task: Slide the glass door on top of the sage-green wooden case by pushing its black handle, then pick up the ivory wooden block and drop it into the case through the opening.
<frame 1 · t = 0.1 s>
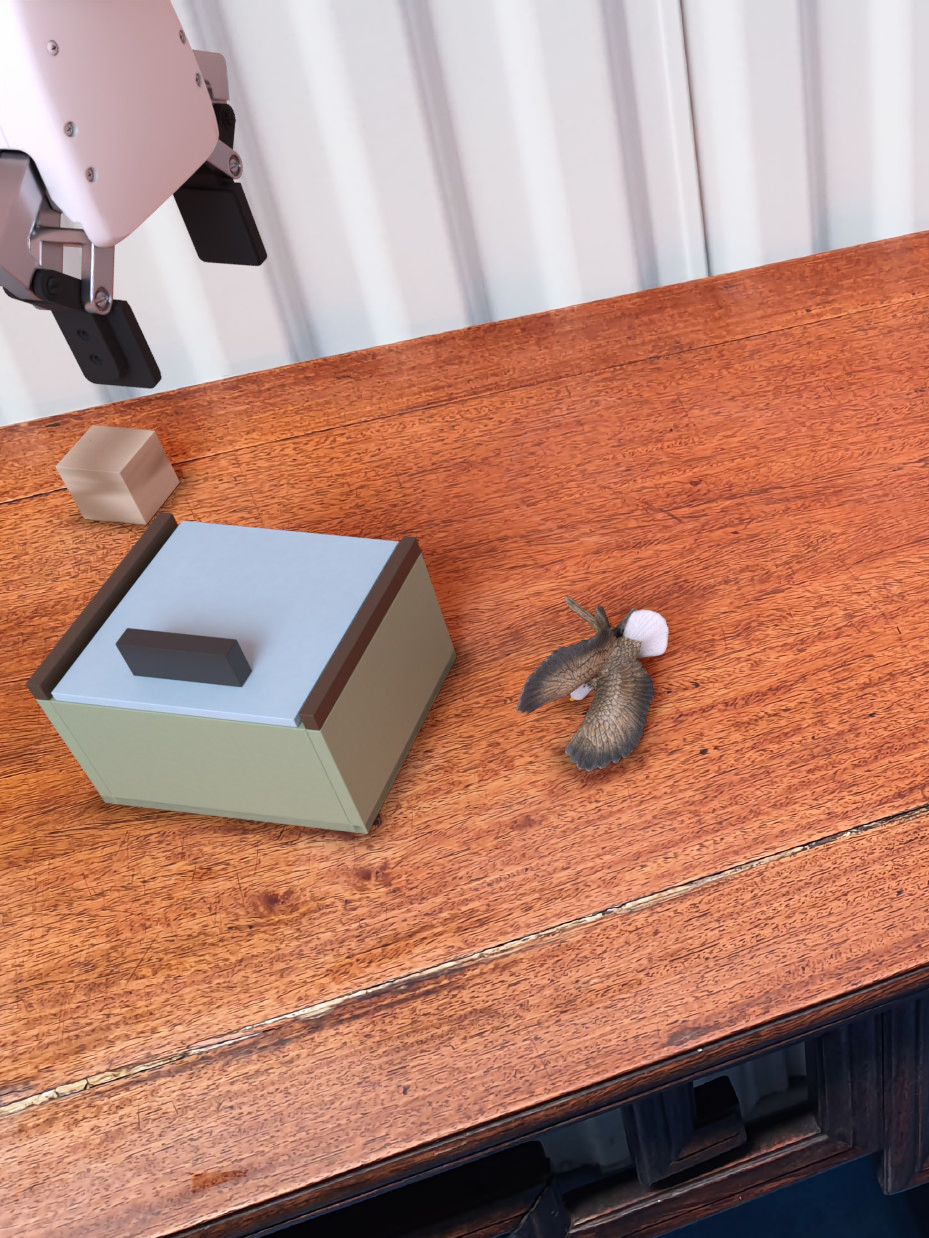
hand: (183, 318, 63), 28 cm above the table, tool pointing down, fingers open, 9 cm apart
case: (289, 726, 83), on the table
eagle figurine: (604, 709, 84), on the table
block: (132, 500, 97), on the table
glass door: (228, 601, 75), point 10 cm above the table, slide at 0.0 cm
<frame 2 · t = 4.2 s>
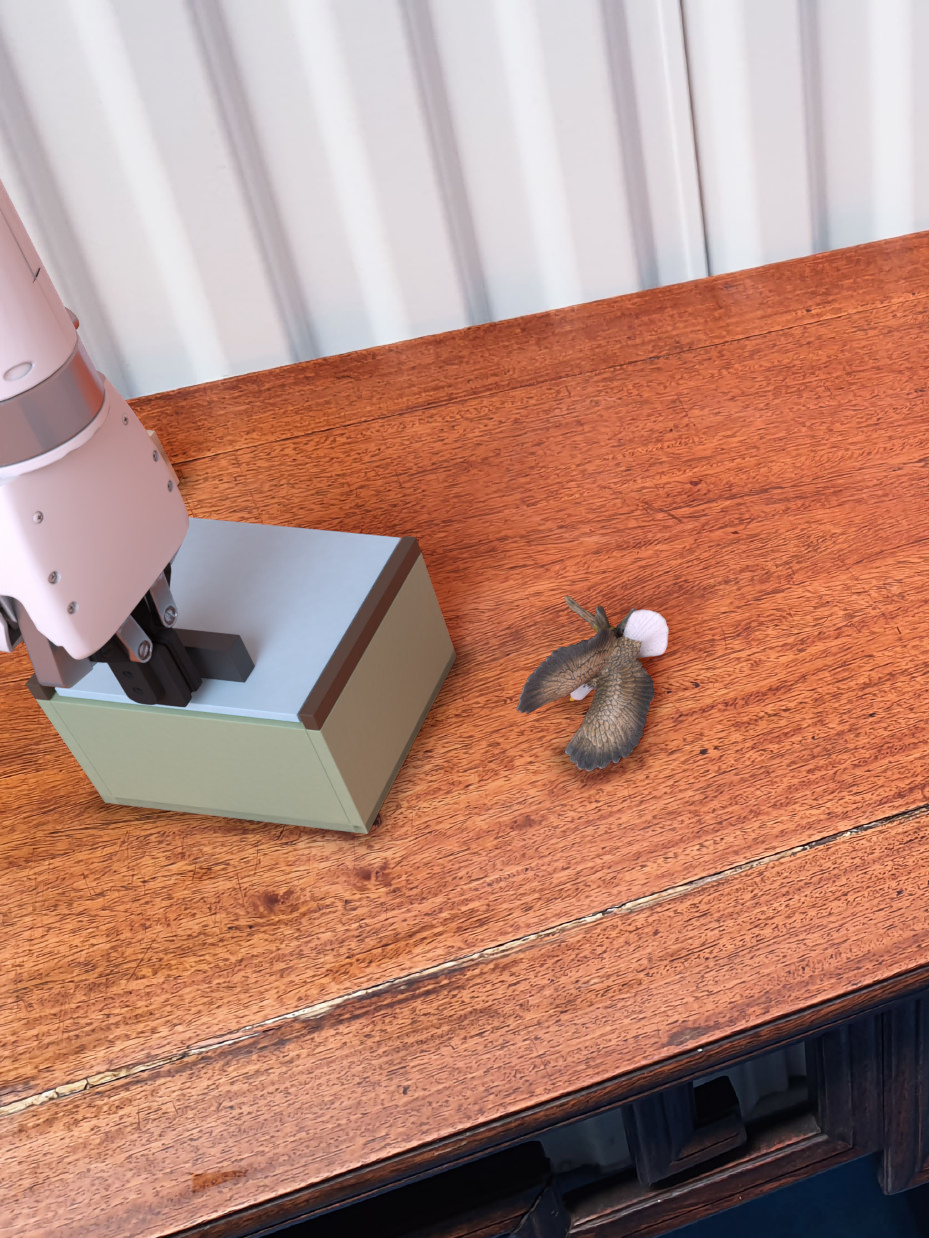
hand: (167, 692, 71), 10 cm above the table, tool pointing down, fingers closed
glass door: (231, 596, 75), point 10 cm above the table, slide at 0.3 cm, touching gripper
everything else where it was.
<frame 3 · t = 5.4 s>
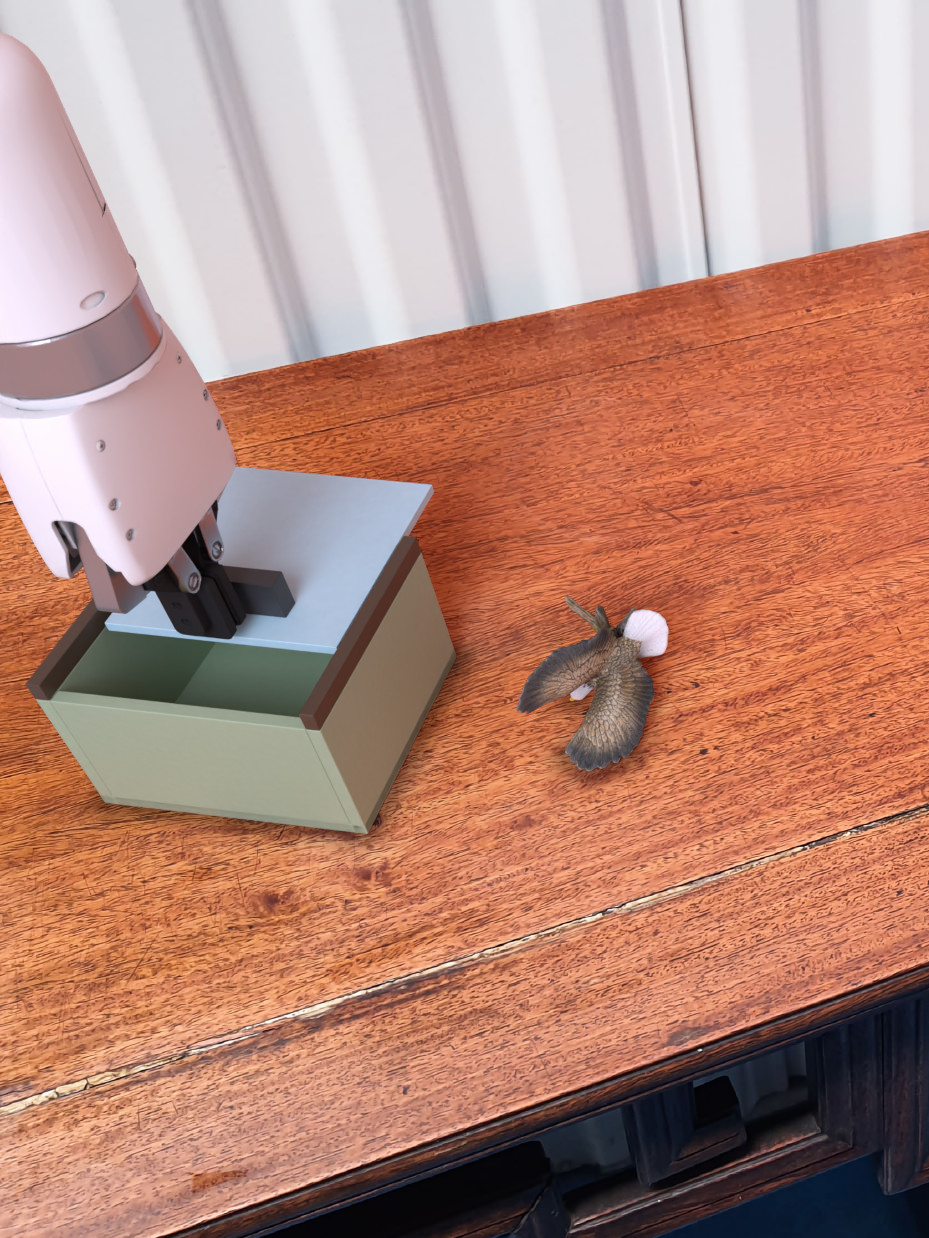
hand: (212, 626, 74), 10 cm above the table, tool pointing down, fingers closed
glass door: (271, 538, 79), point 10 cm above the table, slide at 5.1 cm, touching gripper
everything else where it was.
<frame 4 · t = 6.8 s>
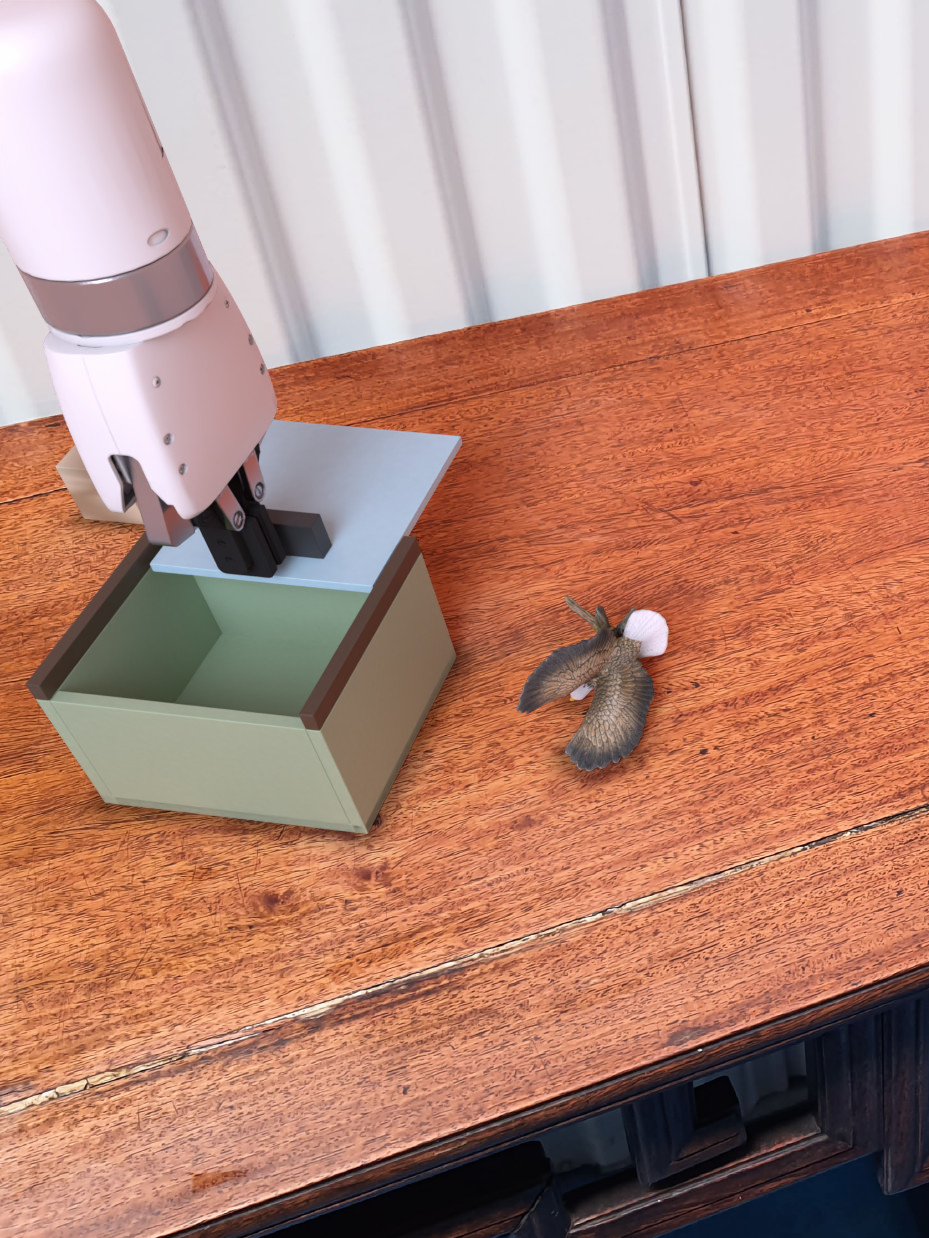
hand: (254, 565, 77), 10 cm above the table, tool pointing down, fingers closed
glass door: (307, 484, 82), point 10 cm above the table, slide at 9.8 cm, touching gripper
everything else where it was.
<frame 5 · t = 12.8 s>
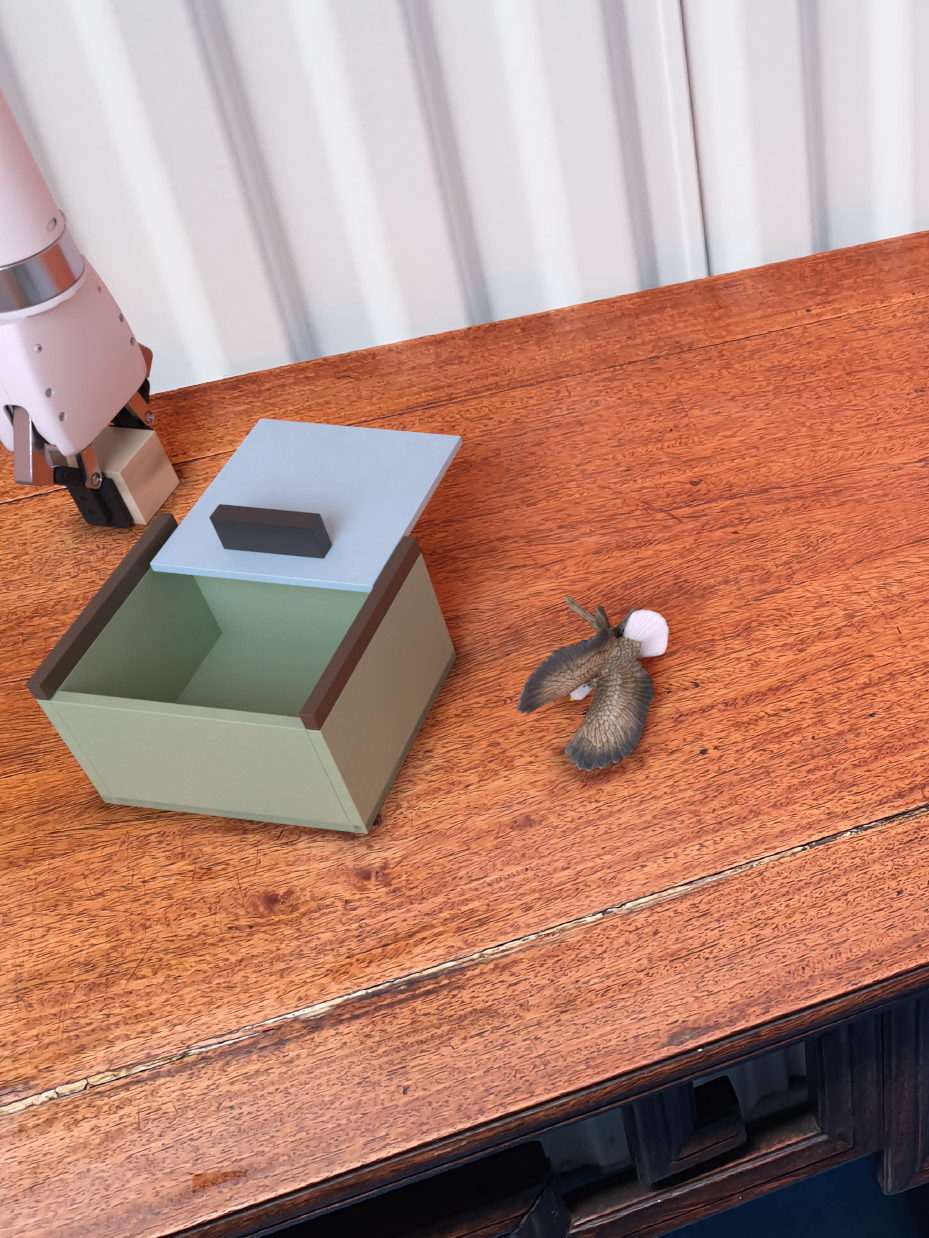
hand: (130, 496, 97), 0 cm above the table, tool pointing down, fingers closed on block, 4 cm apart
block: (132, 500, 97), on the table, touching gripper
glass door: (308, 484, 82), point 10 cm above the table, slide at 9.9 cm
everything else where it was.
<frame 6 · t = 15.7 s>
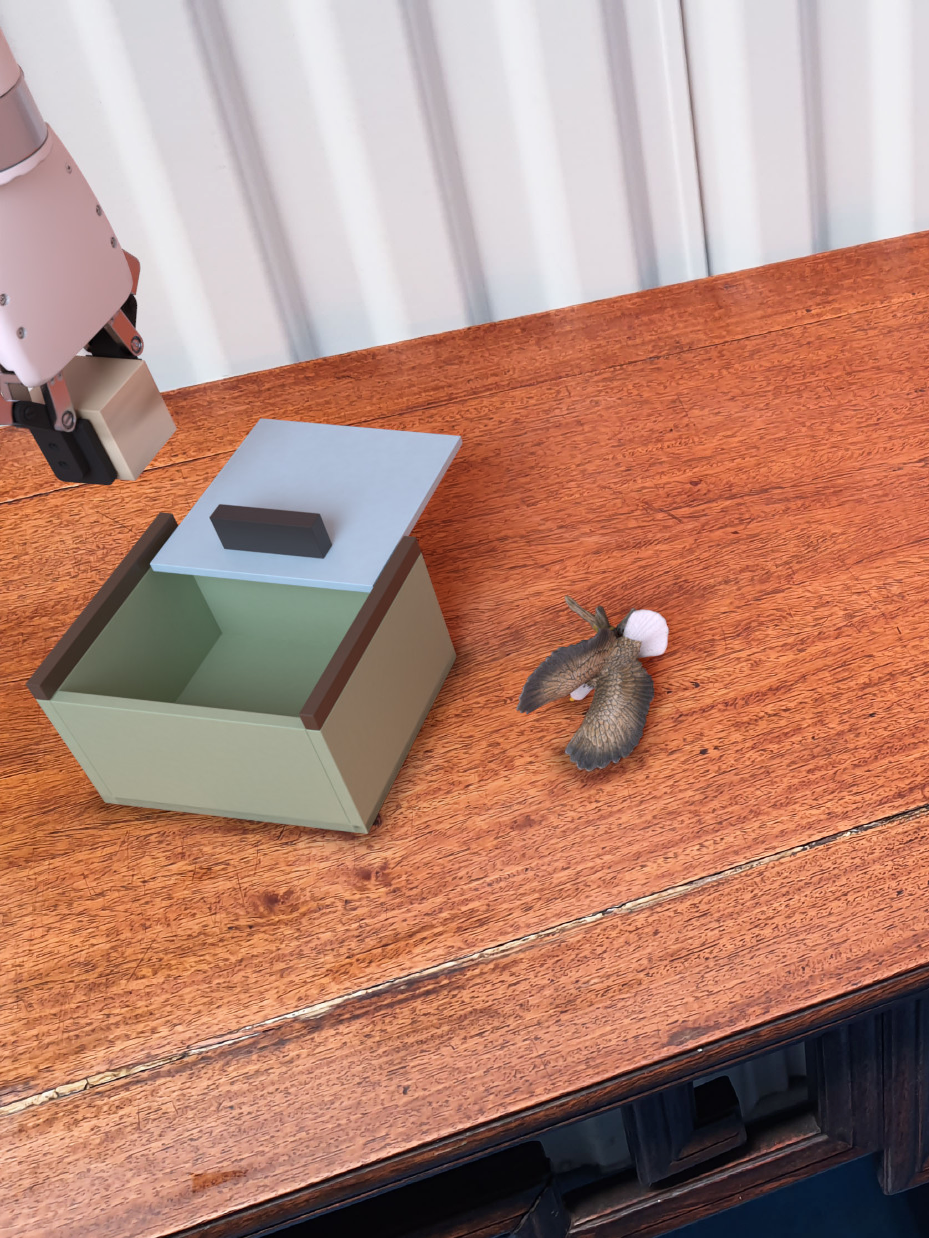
hand: (114, 446, 76), 16 cm above the table, tool pointing down, fingers closed on block, 4 cm apart
block: (117, 451, 76), point 15 cm above the table, touching gripper
everything else where it was.
when the fingers open (8 cm above the table, at t = 19.0 s): block drops 7 cm, resting on case.
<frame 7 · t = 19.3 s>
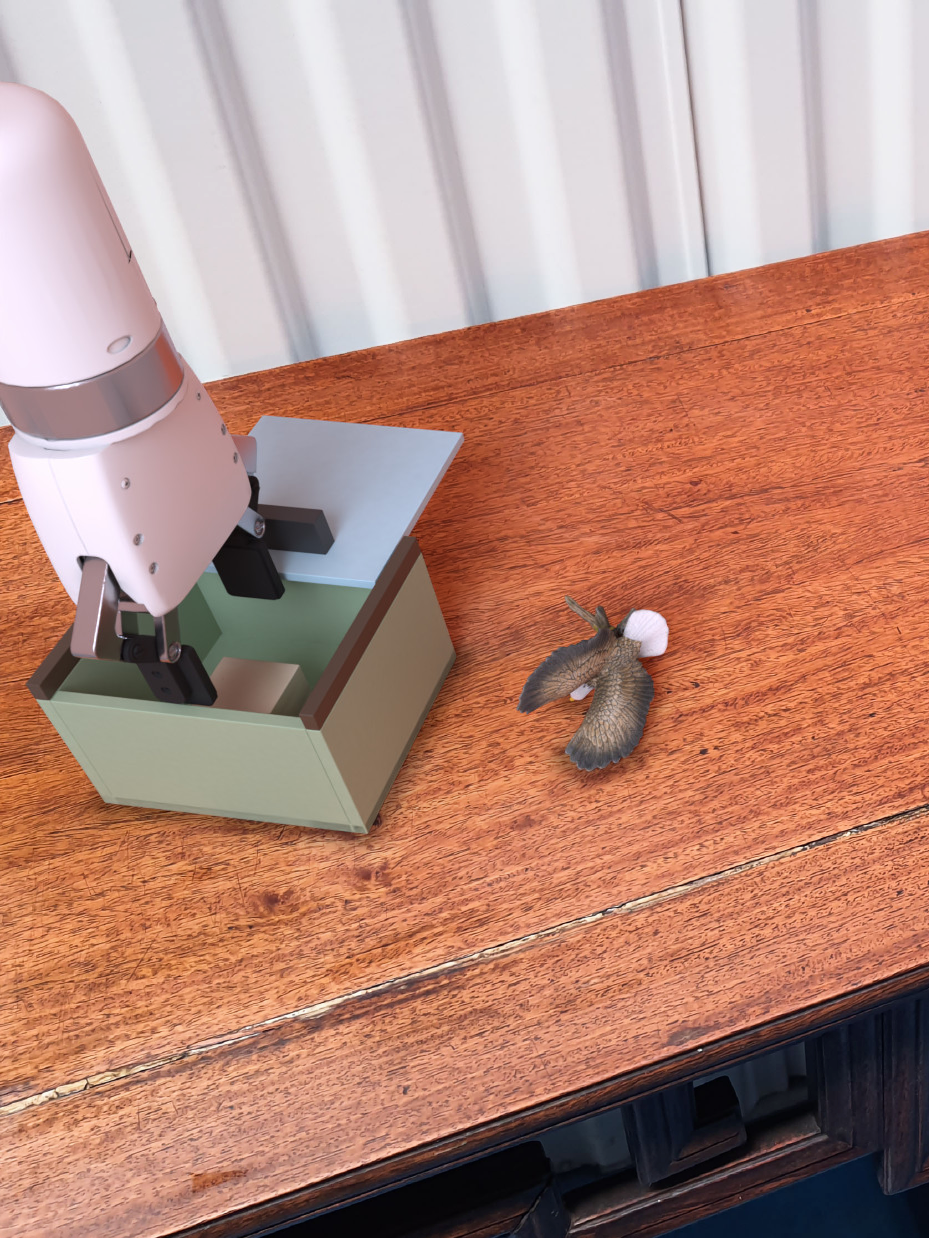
hand: (223, 643, 75), 9 cm above the table, tool pointing down, fingers open, 7 cm apart
block: (269, 743, 81), point 1 cm above the table, touching case
glass door: (310, 481, 82), point 10 cm above the table, slide at 10.2 cm, touching gripper
everything else where it was.
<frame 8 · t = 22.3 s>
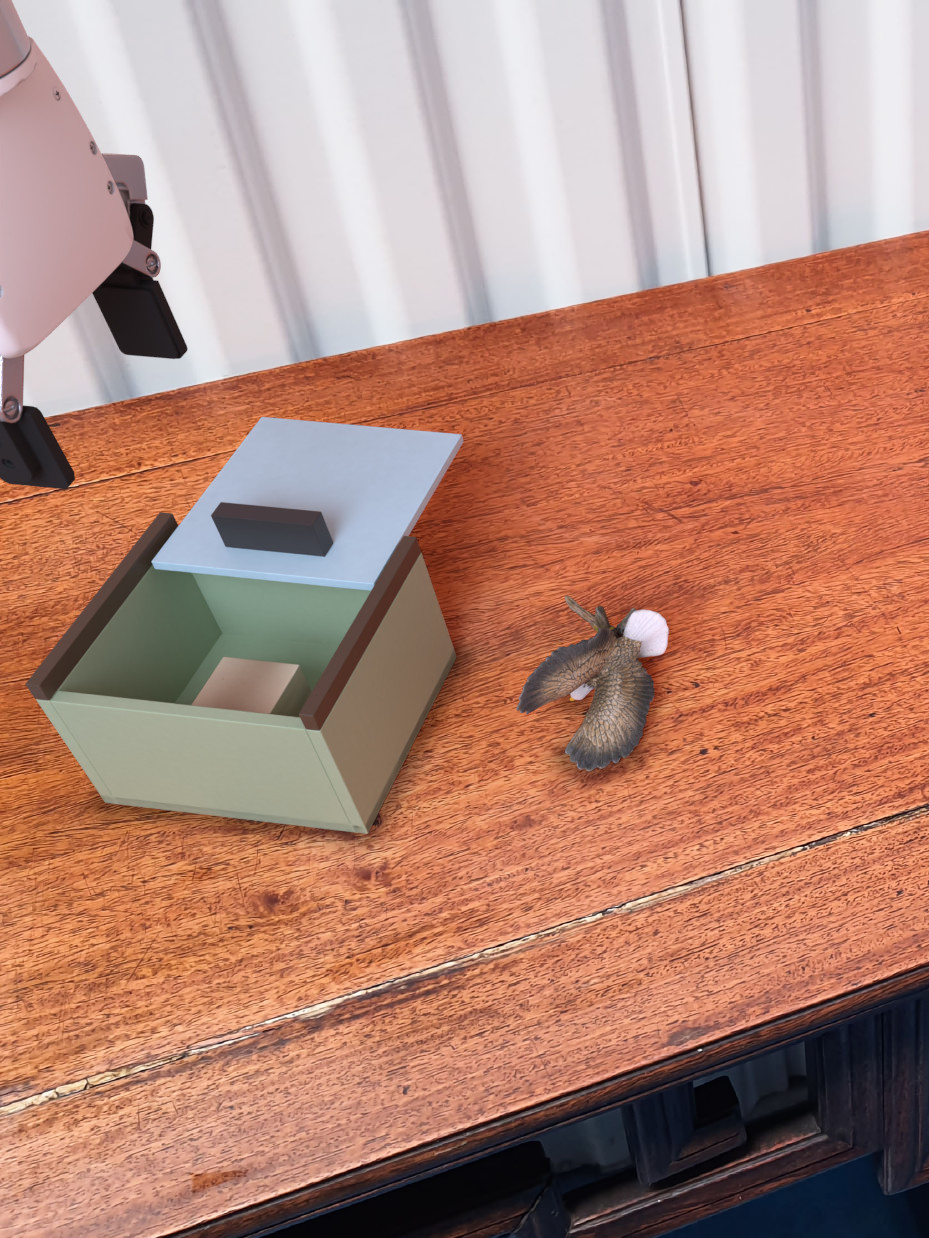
hand: (101, 414, 64), 24 cm above the table, tool pointing down, fingers open, 9 cm apart
glass door: (309, 482, 82), point 10 cm above the table, slide at 10.0 cm
everything else where it was.
at the end: glass door slide at 10.0 cm; block inside the target area on the case (2.0 cm from its centre), point 0.8 cm above the case's base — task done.
